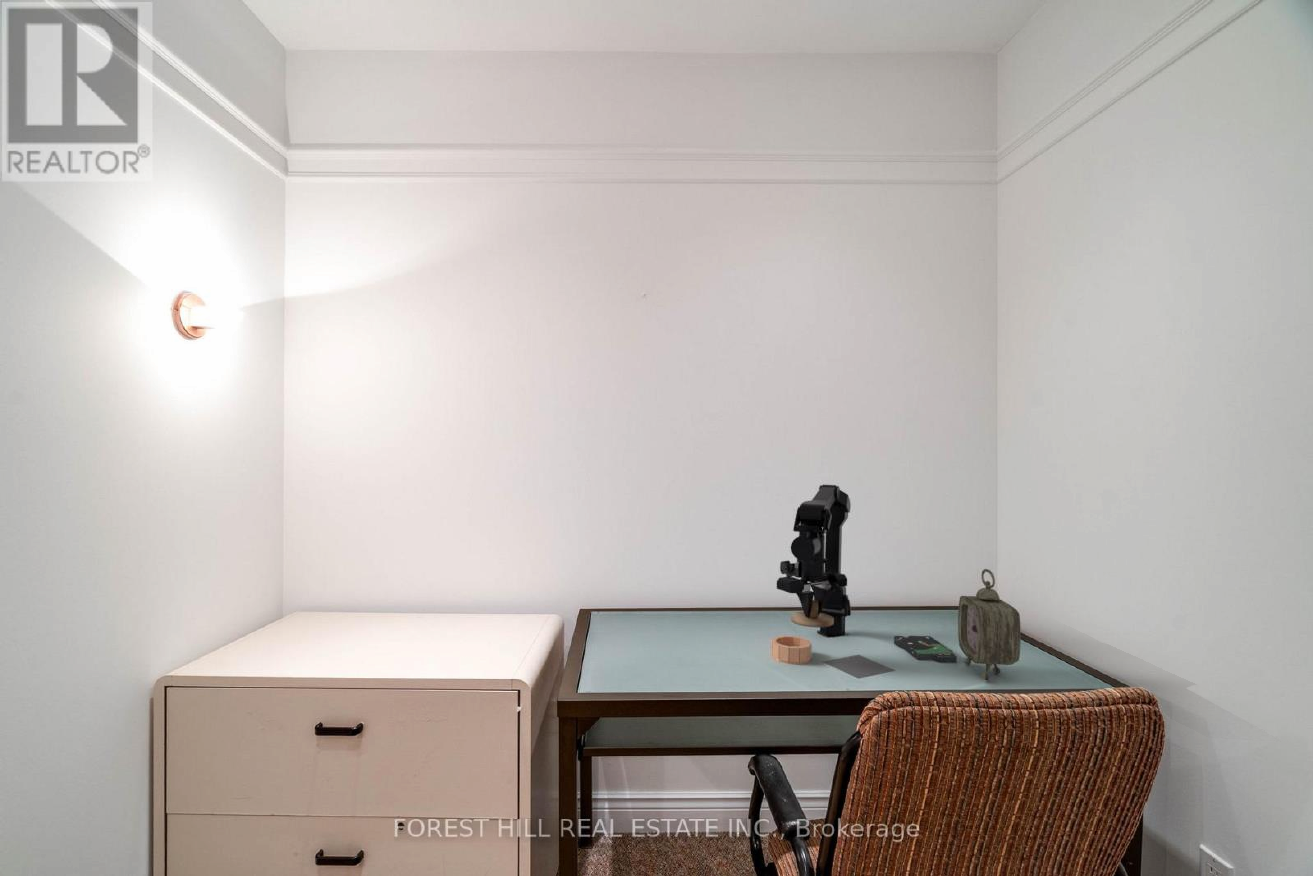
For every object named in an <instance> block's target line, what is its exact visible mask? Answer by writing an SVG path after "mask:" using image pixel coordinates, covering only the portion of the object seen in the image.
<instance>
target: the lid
mask: <svg viewBox="0 0 1313 876" xmlns="http://www.w3.org/2000/svg"><path fill="white" fill-rule="evenodd" d="M790 621H791V622H792V623H794V624H796V625H798V626H802V627H808V628H820V627H829V626H832V625H833V624H834V618H833V617H832V616H830V615H827V614H824V613H820V614H819V616H818V601H816V600H814V599H813V602H812V608H811V613H810V616H809V617H805V614H804V611H797V612H793V613H792V614H791V615H790Z"/></svg>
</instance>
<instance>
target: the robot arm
mask: <svg viewBox="0 0 1313 876" xmlns="http://www.w3.org/2000/svg"><path fill="white" fill-rule="evenodd" d="M851 505H852V504H851V499H850V496H849V494H847V493H846V492H844V491H843V490H841V488H840V486H839V485H836V484H822V485H819V487H818V491H817V492H816V494H815V495H814V497H813V498H812V499H811V500H806V501H803V502H802V503H800V505H799V507H797V509H796V514H795V517H794V518H795V519H794V523H793V529H792V530H793V532H796V533H798V536H797V537H795V538H794V539H793V541H792V542H791V544H790V551H791V554H792V555H793V557H794V558H796V562H794V563H793V562H792V563H791V561H790V560H782V561H780V565H779V570H780V573H781V575H786V576H781V577H779V578H778V579H777V580H776V589H777V590H780V591H783V592H786V593H789V594H796V596H797V598H798V599H799V602H800V605H801V609H802V612H804V614H805V617H809V616H810V613H811V608H812V602H813V600H816V601H818V616H819V614H820V613H824V614H827V615H830V616H832V617H833V618H834V624H833V625H832V626H829V627H819V630H817V631H816V633H817V634H820V635H822V636H824V637H827V638H837V637H844V636H849V635H850V634H849V633H847V632H846V617H849V616H850V617H851V615H852V607H851V601H850V599H849V595H848V594H847V588H846V587H847V586H848V577H847V575H846V574H844V573H842V542H843V539H842V537H843V526H844V525H845V523H846V522H847V520H848V519H849V513H851Z"/></svg>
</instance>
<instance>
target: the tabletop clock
mask: <svg viewBox="0 0 1313 876" xmlns="http://www.w3.org/2000/svg"><path fill="white" fill-rule="evenodd" d="M985 573H988V574H989V575H990V577H991V581H992V584H991V582H990V581H989V580H986V581H985V577H984V575H985ZM995 579H996V577H995V575H994V573H993V571H991V570H990V569H988V568H984V569H983V570H982V571H981V581H982V583H983V585H984V586H985V587H983V588H980V589H978V591H977V592H976V594H975V596H974V595H972V596H970V595H961V596H959V602H958V613H957V614H958V617H957V629H958V631H957V634H958V635H957V637H958V645H959V648H960V650H961V651H962V652H963V654H964V655H965V656H966V658H965V659H964V664H965V665H967V666H970V665H971V664H972V662H973V663H975V664H979V665H980V664H981V665H983V664H984V665H985V672H984V673H983V674H982V675H981V679H982V680H983V681H987V682H988V681H989V680H990V676H989V675H988V674H989V671H990V668H991V667H992V666H994V667H993V668H992V672H993V673H994V674H995V675H999V674H1000V673H1001V669H1000V668H999V667H998V665H1003V666H1011V665H1014V664H1015V663H1017V662H1018V661H1019V660H1020V657H1021V656H1020V654H1021V616H1020V612H1019V611H1018V610H1017V609H1016V608H1015V607H1014V606H1012V604H1010V603H1008V602H1006V601H1004V600H1002V599H1000V596H999V594H998V592H997V590H995V589H993V588H994V587H995V584H996V580H995Z"/></svg>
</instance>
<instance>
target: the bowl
mask: <svg viewBox="0 0 1313 876" xmlns="http://www.w3.org/2000/svg"><path fill="white" fill-rule="evenodd" d="M812 645H813V644H812V641H811V640H809V639H808V638H805V637H801V636H796V635H779V636H774V637H773V638H771V640H770V655H771V657H772V659H773V660H774V661H777V662H779V663H783V664H789V665H802V664H807V663H809V662H810V661H811V660H812V657H813V656H812V654H813V653H812V651H813V650H812V648H813V646H812Z"/></svg>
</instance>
